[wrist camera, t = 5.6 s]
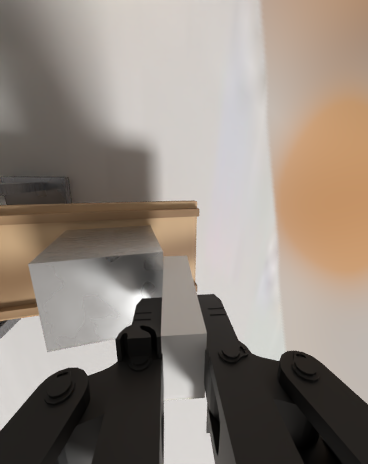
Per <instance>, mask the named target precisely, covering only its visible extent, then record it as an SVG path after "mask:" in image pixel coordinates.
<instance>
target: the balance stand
mask: <svg viewBox="0 0 368 464" xmlns="http://www.w3.org/2000/svg"><path fill="white" fill-rule="evenodd" d="M1 182H2V183H0V196H1V195H5V200H6V204H7V205H32V204H72V202H71V195H70V188H69V180H68V177H1ZM20 319H21V318H18V319H11V320H4V321H0V339H1V338H2V337H3V336H4V335H5V334H6V333H7V332H8V331H9V330H10V329H11V328H12V327H13V326H14V325H15V324H16V323H17V322H18V321H19V320H20Z"/></svg>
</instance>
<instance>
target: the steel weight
mask: <svg viewBox="0 0 368 464" xmlns="http://www.w3.org/2000/svg"><path fill="white" fill-rule="evenodd" d="M28 266H29V270H30V275H31V280H32V284H33V289H34V293H35V298H36V302H37V307H38V311H39V316H40V320H41V325H42V329H43V334H44V338H45V343H46V347H47V352H50V351H55V350H60V349H66V348H71V347H76V346H81V345H87V344H92V343H97V342H102V341H108V340H113V339H116V338H117V336H118V334H119V333H120V332H121V331H122V330H123V329H124V328H126V327H128V326H130V325H132V321H133V317H134V313H135V308H136V305H137V304H138V303H139V301H140V300H141V299H142V298H159V297H162V288H163V251H162V249H161V246H160V244H159V242H158V240H157V238H156V236H155V234H154V231H153V229H152V227H151V225H147V226H130V227H113V228H96V229H80V230H66V231H65V232H64V233H63V234H62V235H60V236H59V237H58V238H57V239H56V240H55V241H54V242H53V243H51V244H50V245H49V246H48V247H47V248H46V249H45V250H44V251H42V252H41V253H40V254H39V255H38V256H37V257H36V258H35V259H33V260H32V261H31V262H30V263H29V264H28Z"/></svg>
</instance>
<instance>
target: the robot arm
mask: <svg viewBox="0 0 368 464" xmlns="http://www.w3.org/2000/svg"><path fill="white" fill-rule="evenodd" d="M115 340H116V350H117V359H118V361H117V362H116V363H115V364H114V365H112V366H111V367H109V368H107V369H105V370H103V371H100V372H97V373H95V374H92V375H89V376H87V374H86V373H85V371H84V370H82V369H79V368H67V369H64V370H61V371H58V372H56V373H55V374H53V375H51V376H50V377H48V378H47V379H46V380H45V381H44V382H43V383H42V384H40V385H39V386H38V388H37V389H36V390H35V391H34V392H33V393H32V395H31V396H30V397H29V398H28V399H27V400H26V402H25V403H24V404H23V405H22V406H21V408H20V409H19V410H18V411H17V412H16V413H15V415H14V416H13V417H12V418H11V419H10V420H9V422H8V423H7V424H6V425H5V426H4V428H3V429H2V430H1V431H0V464H164V401H172V400H183V399H194V398H205V392H206V397H207V433H210V436H211V442H212V448H213V454H214V459H215V464H368V404H367V403H365V402H364V401H363V400H362V399H361V398H360V397H359V396H358V395H356V394H355V393H354V392H353V391H352V390H351V389H350V388H349V387H348V386H346V385H345V384H344V383H343V382H342V381H341V380H340V379H339V378H338V377H337V376H335V375H334V374H333V373H332V372H331V371H330V370H329V369H328V368H327V367H325V366H324V365H323V364H322V363H321V362H319V361H318V360H317V359H315V358H314V357H312V356H310V355H308V354H305V353H303V352H299V351H287V352H285V353H284V354H282V355H281V358H280V361H276V360H271V359H267V358H262V357H259V356H256V355H254V354H252V353H251V352H250V351H249V349H248V348H247V346H245V345H244V344H243V343H241V342H240V341H238V339H237V336H236V334H235V332H234V329H233V327H232V325H231V323H230V320H229V318H228V316H227V313H226V311H225V309H224V307H223V304H222V302H221V300H220V299H219V298H218V297H216V296H215V295H214V294H207V295H197V293H196V289H195V285H194V281H193V277H192V273H191V269H190V266H189V262H188V258H187V256H164V261H163V288H162V297H159V298H142V299H141V300H140V301H139V303H138V304H137V305H136V308H135V313H134V317H133V321H132V325H130V326H128V327H126V328H124V329H123V330H122V331H121V332H120V333H119V334H118V336H117V338H116V339H115Z"/></svg>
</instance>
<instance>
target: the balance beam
mask: <svg viewBox="0 0 368 464" xmlns="http://www.w3.org/2000/svg"><path fill="white" fill-rule="evenodd" d="M197 216H199V209H198V208H197V201H156V202H115V203H74V204H32V205H0V321H4V320H11V319H18V318H25V317H32V316H39V311H38V307H37V302H36V298H35V293H34V289H33V284H32V280H31V275H30V270H29V266H28V264H29V263H30V262H31V261H32V260H33V259H35V258H36V257H37V256H38V255H39V254H40V253H41V252H42V251H44V250H45V249H46V248H47V247H48V246H49V245H50V244H51V243H53V242H54V241H55V240H56V239H57V238H58V237H59V236H60V235H62V234H63V233H64V232H65V231H66V230H80V229H96V228H113V227H130V226H147V225H151V227H152V229H153V231H154V234H155V236H156V238H157V240H158V242H159V244H160V246H161V249H162V251H163V261H164V256H187V258H188V262H189V266H190V269H191V273H192V277H193V281H194V285H195V289H196V292H197V284H196V283H195V265H196V223H197Z"/></svg>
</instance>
